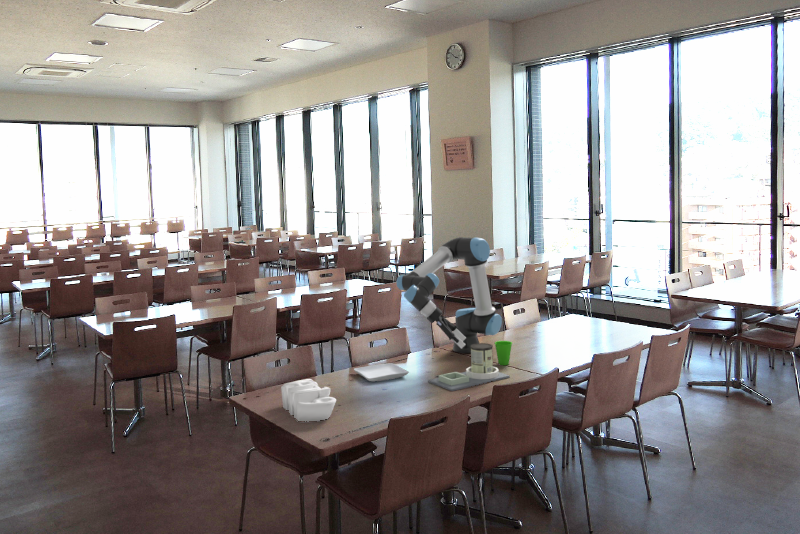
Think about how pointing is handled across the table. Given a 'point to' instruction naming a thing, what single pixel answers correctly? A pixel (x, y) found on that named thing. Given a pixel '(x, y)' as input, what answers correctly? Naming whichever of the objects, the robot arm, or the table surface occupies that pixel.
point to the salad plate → (381, 372)
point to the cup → (503, 351)
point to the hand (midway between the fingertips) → (463, 343)
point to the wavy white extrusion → (307, 400)
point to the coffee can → (481, 358)
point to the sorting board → (466, 379)
